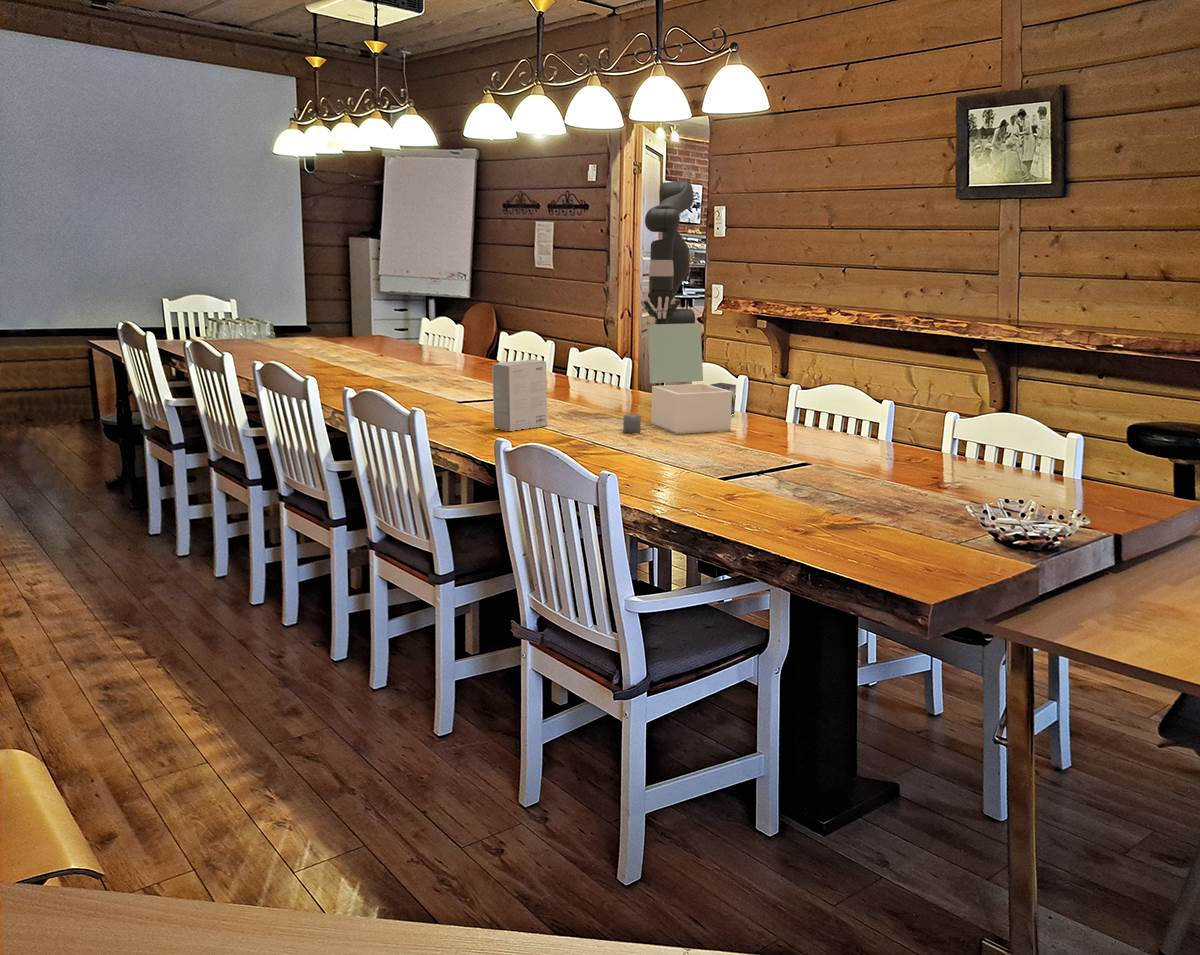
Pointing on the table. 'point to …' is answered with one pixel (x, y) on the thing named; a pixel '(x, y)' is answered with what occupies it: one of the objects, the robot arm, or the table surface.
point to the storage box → (691, 408)
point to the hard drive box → (519, 394)
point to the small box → (730, 388)
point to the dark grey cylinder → (631, 423)
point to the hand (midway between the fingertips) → (660, 330)
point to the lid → (675, 352)
